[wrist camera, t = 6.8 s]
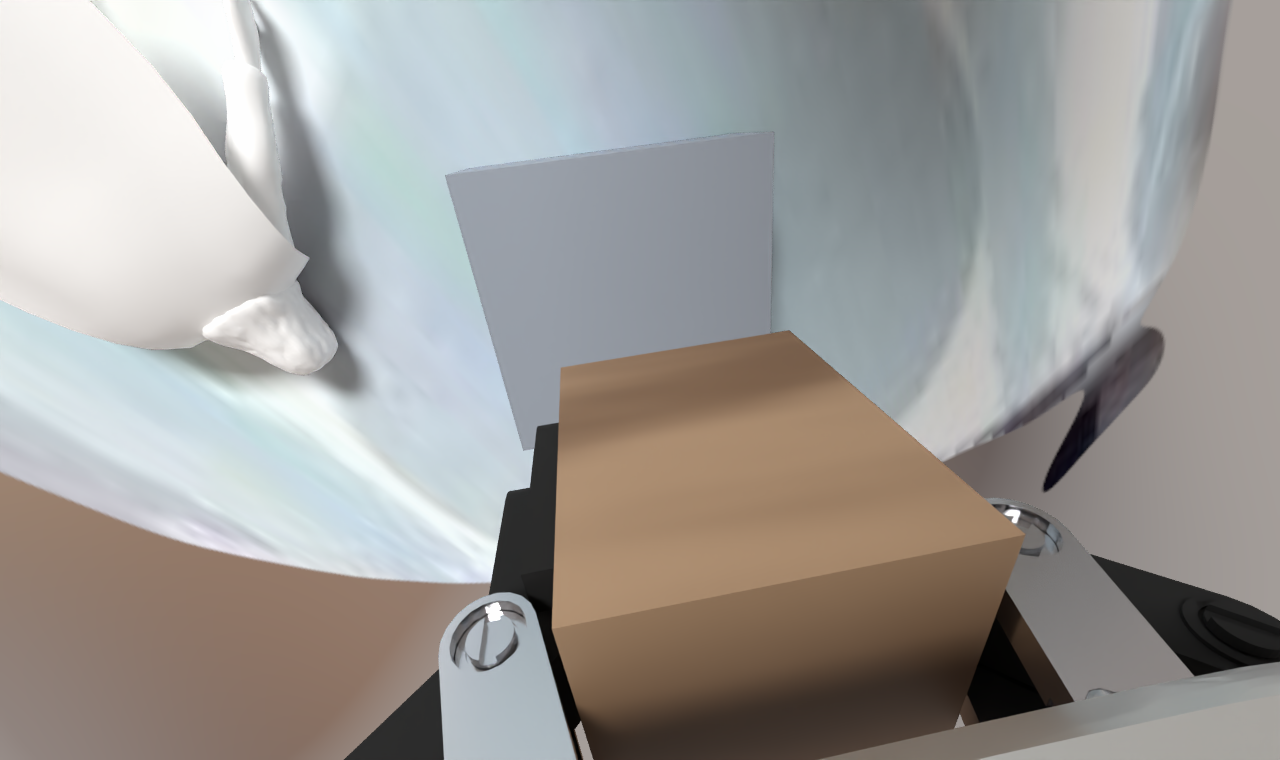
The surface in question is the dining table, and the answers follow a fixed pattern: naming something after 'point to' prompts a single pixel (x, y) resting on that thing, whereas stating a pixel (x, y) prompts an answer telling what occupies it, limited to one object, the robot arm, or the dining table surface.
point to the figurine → (144, 195)
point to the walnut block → (761, 560)
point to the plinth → (617, 256)
